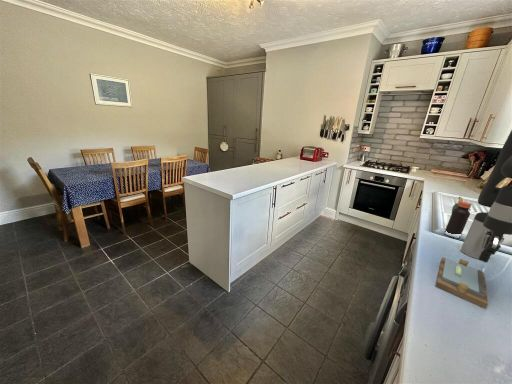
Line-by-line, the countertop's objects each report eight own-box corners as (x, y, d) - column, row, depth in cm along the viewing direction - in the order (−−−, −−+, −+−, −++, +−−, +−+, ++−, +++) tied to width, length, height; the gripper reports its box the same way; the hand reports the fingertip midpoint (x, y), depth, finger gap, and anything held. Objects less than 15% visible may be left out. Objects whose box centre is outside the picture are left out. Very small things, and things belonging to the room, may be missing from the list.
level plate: (444, 260, 89) (447, 255, 88) (480, 274, 82) (484, 268, 81) (441, 279, 77) (444, 273, 76) (483, 297, 70) (486, 290, 69)
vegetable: (456, 230, 124) (469, 199, 118) (448, 229, 125) (460, 198, 119) (451, 226, 129) (463, 196, 122) (443, 225, 129) (455, 195, 123)
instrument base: (440, 261, 92) (444, 252, 91) (482, 276, 84) (486, 267, 83) (435, 286, 77) (439, 276, 75) (485, 308, 68) (491, 298, 67)
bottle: (442, 234, 118) (455, 201, 111) (445, 231, 122) (458, 199, 115) (458, 240, 113) (473, 206, 106) (460, 236, 117) (475, 203, 110)
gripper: (525, 227, 62) (499, 274, 68) (518, 215, 71) (496, 257, 77) (489, 218, 67) (468, 263, 73) (486, 208, 76) (468, 248, 82)
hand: (482, 260), depth 75 cm, fingers closed
